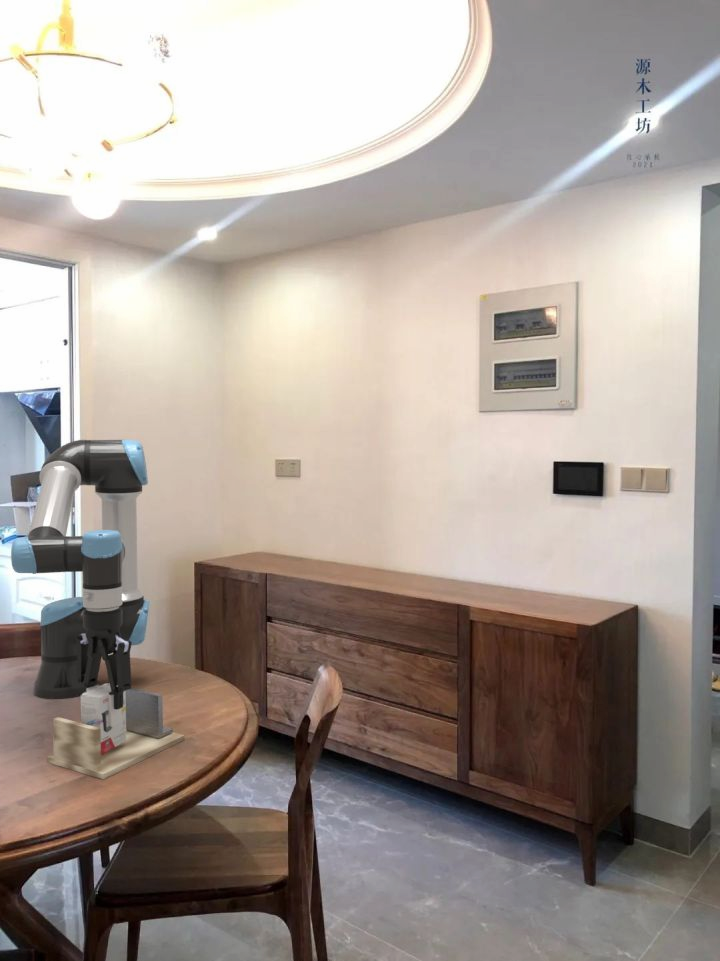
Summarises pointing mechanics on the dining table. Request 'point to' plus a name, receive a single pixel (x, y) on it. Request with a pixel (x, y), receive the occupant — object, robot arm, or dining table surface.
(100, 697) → the ink box
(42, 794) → the dining table surface
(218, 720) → the dining table surface
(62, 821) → the dining table surface
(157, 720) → the bookend
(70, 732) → the rack
